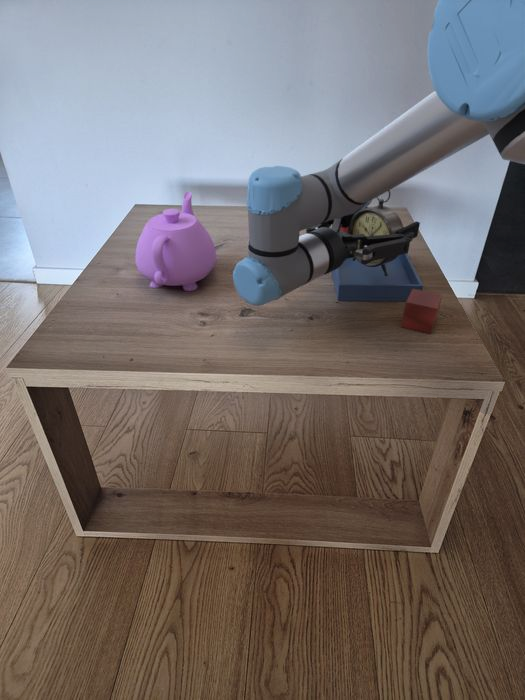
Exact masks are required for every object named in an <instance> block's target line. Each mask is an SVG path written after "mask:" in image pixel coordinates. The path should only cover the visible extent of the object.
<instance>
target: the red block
mask: <svg viewBox="0 0 525 700" xmlns="http://www.w3.org/2000/svg"><path fill="white" fill-rule="evenodd" d="M442 298H443V294H440V293H436V292H431V291H426V290H417V289H412V291H411V293H410V295H409V297H408V299H407V301H405V305H404V310H403V315H402V320H401V326H400V327H401V328H403V329H407V330H413V331H416V332H420V333H425V334H429V335H431V334H432V332H433V330H434V328H435V325H436V322H437V319H438V315H439V311H440V307H441V303H442Z"/></svg>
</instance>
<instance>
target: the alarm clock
mask: <svg viewBox="0 0 525 700" xmlns="http://www.w3.org/2000/svg"><path fill="white" fill-rule="evenodd" d="M387 192H388V197H387V199H386V200H384V198H379V196H378V197H376V199H377V201H378V205H374V206H368V207H369V208H364V209H362V210H360V211H359V212H357V213H355V215H354V216H353V217H352V219H351V221H350V223H349V227H348V234H351V235H355V234H364V235H365V236H377V235H390V234H396V231H398V230H400V229H402V228H404V227H405V226H404V224H403V222H402V219H401V218H400V216H399V215H398V213H397V212H396V211H394V210H393V209H392V208H390V207H388V206H386V205H384V203H387V202H388V201H389V200H390V199H391V195H392V194H391V193H392V192H391V190H389V191H387ZM359 246H360V240H358V249H359ZM397 257H398V256H393V257H388V258H384V259H379V260H374V261H372V262H370V263H368V264H363V265H365V266H368V267H377V266H380V265H381V267H382V270H383V271H384V275H385V276H387V275H388V274H387V271H386V267H385V263H388V262H391V261H393V260H394V259H396V258H397ZM355 259H357V260H358V261H359V262H360V263H361V258H359V257H356V256H355V257H354V258H353V259H352V260H353V261H355Z"/></svg>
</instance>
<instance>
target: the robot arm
mask: <svg viewBox="0 0 525 700" xmlns="http://www.w3.org/2000/svg"><path fill="white" fill-rule="evenodd" d="M435 6H436V7H435V9H434V12H433V22H432V27H431V28H432V29H431V30H430V32H429V33H428V39H427V41H428V42H427V50H426V52H427V54H426V55H427V67H428V73H429V78H430V81H431V84H432V87H433V89H434V91H432V92H430V93H429V94H428V95H427V96H425V97H424V98H423V99H421V100H420V101H419V102H417V103H416V104H415V105H413V106H412V107H410V108H409V109H407V110H406V111H405V112H404V113H402V114H401V115H399V116H398V117H396V119H394V120H392V121H391V122H389V123H388V124H387V125H386V126H385V127H383V128H382V129H380V130H379V131H377V132H376V133H375V134H373V135H372V136H370V138H367V140H366V141H364V142H363V143H361V144H359V146H357V147H355V148H354V149H353V150H352V151H350V152H349V153H347V154H346V155H345V156H343V158H341V159H339V160H338V161H336V162H335V163H334V164H333V165H331V166H330V167H328V168H326V169H324V170H320V171H317V172H314V173H309V174H305V175H302V174H301V173H300V172H299V171H298V170H297V169H295V168H292V167H289V166H284V165H273V166H263V167H259V168H257V169H255V170H254V171H252V172H251V173H250V175H249V177H248V182H247V194H246V195H247V196H246V197H247V198H246V208H247V221H248V245H247V253H248V254H247V255H248V256H247V257H243V259H242V260H240V261H239V262H237V263H236V265H235V267H234V270H233V272H232V279H233V284H234V287H235V289H236V292H237V293H238V295H239V297H240V298H241V299H242V300H243V301H245V303H248V304H249V305H251V306H255V307H259V306H264V305H266V304H269V303H271V302H273V301H277V300H280V299H281V298H282V297H284V296H286V295H287V294H289V293H291V292H293V291H295V290H296V289H298V288H300V287H303V286H305V285H308V283H310V282H312V281H315V280H316V279H318V278H321V277H323V276H325V275H328V274H330V273H332V271H333V270H335V269H337V268H339V267H340V266H341V265H342V263H343V262H344V261H345V260H346V259H348V258H353V257H355V256H356V257H359V258H361V263H362V264H368V263H370V262H372V261H374V260H379V259H384V258H388V257H393V256H398V255H402V254H409V251H410V245H411V242H412V241H413V240H414V239H416V238H417V237H418V236H419V235H418V234H419V230H420V226H421V225H420V224H421V222H419V221H418V220H417V221H414V222H412V223H410V224H408V225H406V226H403V227H404V228H402V229H400V230H398V231H396V234H390V235H377V236H365V235H364V234H355V235H351V234H348V233H346V232H343V231H342V232H341V230H340V228H341V224H342V227H344V228H347V227H349V223H350V221H351V219H352V217H353V216H354V215H355V213H357V212H359V211H360V210H362V209H364V208H367V207H370V205H371V203H372V202H373V200H374V199H377V197H378V198H379V197H380V196H382V195H384V194H386V193H387V192H388V191H389V190H390V191H391V190H393V189H394V188H396V187H398V186H399V185H401V184H403V183H405V182H407V181H408V180H411V179H412V178H414V177H415V176H417V175H419V174H421V173H423V172H424V171H427V170H428V169H430V168H431V167H434V166H435V165H438V164H439V163H440V162H443V161H445V159H448V158H450V157H451V156H453V155H454V154H457V153H459V152H460V151H462V150H464V149H465V148H467V147H469V146H471V145H473V144H474V143H477V142H478V141H480V140H481V139H483V138H486V137H487V136H488V135H489V136H490V138H491V140H492V142H493V144H494V146H495V147H496V150H497V152H498V153H499V156H500V157H501V159H502V160H504V161H509V162H513V163H517V164H522V165H525V0H438V1H437V4H436V5H435ZM301 175H302V176H301ZM332 224H333V225H332ZM304 230H305V233H304V234H301V233H300V232H301V231H304ZM358 240H360V246H359V249H358Z"/></svg>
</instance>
